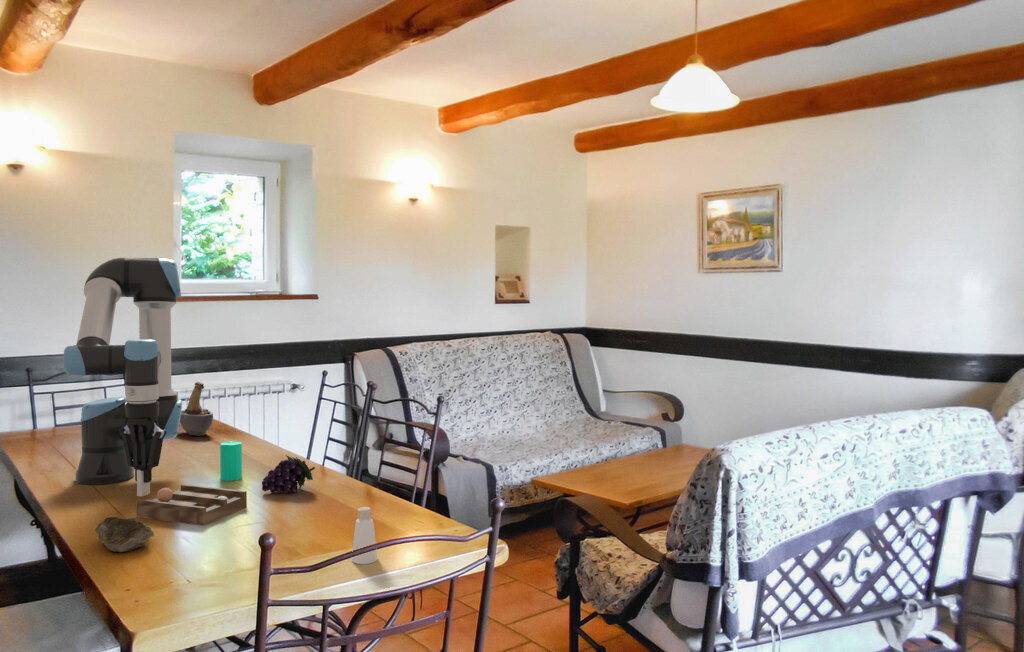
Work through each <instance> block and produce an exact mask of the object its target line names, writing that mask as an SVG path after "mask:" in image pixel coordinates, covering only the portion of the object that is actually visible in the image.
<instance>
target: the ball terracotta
mask: <svg viewBox="0 0 1024 652" xmlns="http://www.w3.org/2000/svg"><path fill="white" fill-rule="evenodd" d="M172 492H173V491H172V490H171V489H170V488H169V487H163V488H161V489H159V490H158V491H157V494H156V498H157V499H158V500H159V501H161V502H169V501H170V500H171V499H172V497H173V493H172Z"/></svg>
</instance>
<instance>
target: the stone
mask: <svg viewBox="0 0 1024 652" xmlns="http://www.w3.org/2000/svg"><path fill="white" fill-rule="evenodd" d="M94 531H95V533H96V534H97V536H98V539H99V541H100V542H102V544H103V545H104V546H105V547H106V549H108V551H111V552H115V553H117V552H118V553H123V552H125V553H126V552H130V551H132V550H135V549H137V548H140V547H143V546H144V545H145V544H146V542H148V541H149V540H150V539H151V538H152V537H154V535H155V534H154V531H153V530H152V527H150V526H149V525H147V524H145V523H144V522H143V521H140V520H139V519H136V518H135V517H132V518H122V517H118V516H110V517H109V516H108V517H105V518H104V519H103V520H102V521H100V522H99V524H97V526H96V528H95V529H94Z"/></svg>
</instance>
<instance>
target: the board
mask: <svg viewBox="0 0 1024 652" xmlns="http://www.w3.org/2000/svg"><path fill="white" fill-rule="evenodd" d="M172 493H173V497H172V499H171V500H170V501H169V502H161V501H159V500H158V499H157V497H155V498H152V499H145V498H138V499H136V500H135V502H136V505H135V506H136V517H137V518H145V519H151V520H159V521H167V522H172V523H181V524H189V525H196V526H203V527H204V526H206V525H208V524H211V523H213V522H216V521H218V520H220V519H222V518H224V517H227V516H230V515H232V514H235V513H237V512H239V511H242V510H243V509H246V508H247V507H248V499H247V498H248V497H247V491H246V490H239V489H230V488H222V487H220V488H219V487H211V486H203V485H194V484H186V483H185V484H184V483H183V484H180V489H179V490H175V491H172ZM219 496H225V497H227V498H228V499H229V500H227V499H224V498H218V497H219Z"/></svg>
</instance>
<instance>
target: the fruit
mask: <svg viewBox="0 0 1024 652" xmlns="http://www.w3.org/2000/svg"><path fill="white" fill-rule="evenodd" d="M285 456H286V458H287V459H284V460H281V461H280V462H278V464H277V465H276V466H275V468H274V469H270V470H269V471H268V473H267V475H266V476H265V477H263V479H262V481H261V485H262V486H261V488H262V489H261V490H262V491H263V492H267V491H270V493H272V494H273V493H280V492H281V493H287V492H288V491H289V493H291V494H295V493H297V491H298V489H300V490H301V489H302V487H304V486H305V482H306V480H307V481H308V482H310V481H313V480H314V479H313V476H312V474H313V473H312V471H314V470H315V469H316V467H315V466H313V467H311V468H309V467H308V464H307V463H306V461H305V460H301V459H300V458H298V457H291V456H289V455H288V454H287V455H285Z"/></svg>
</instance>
